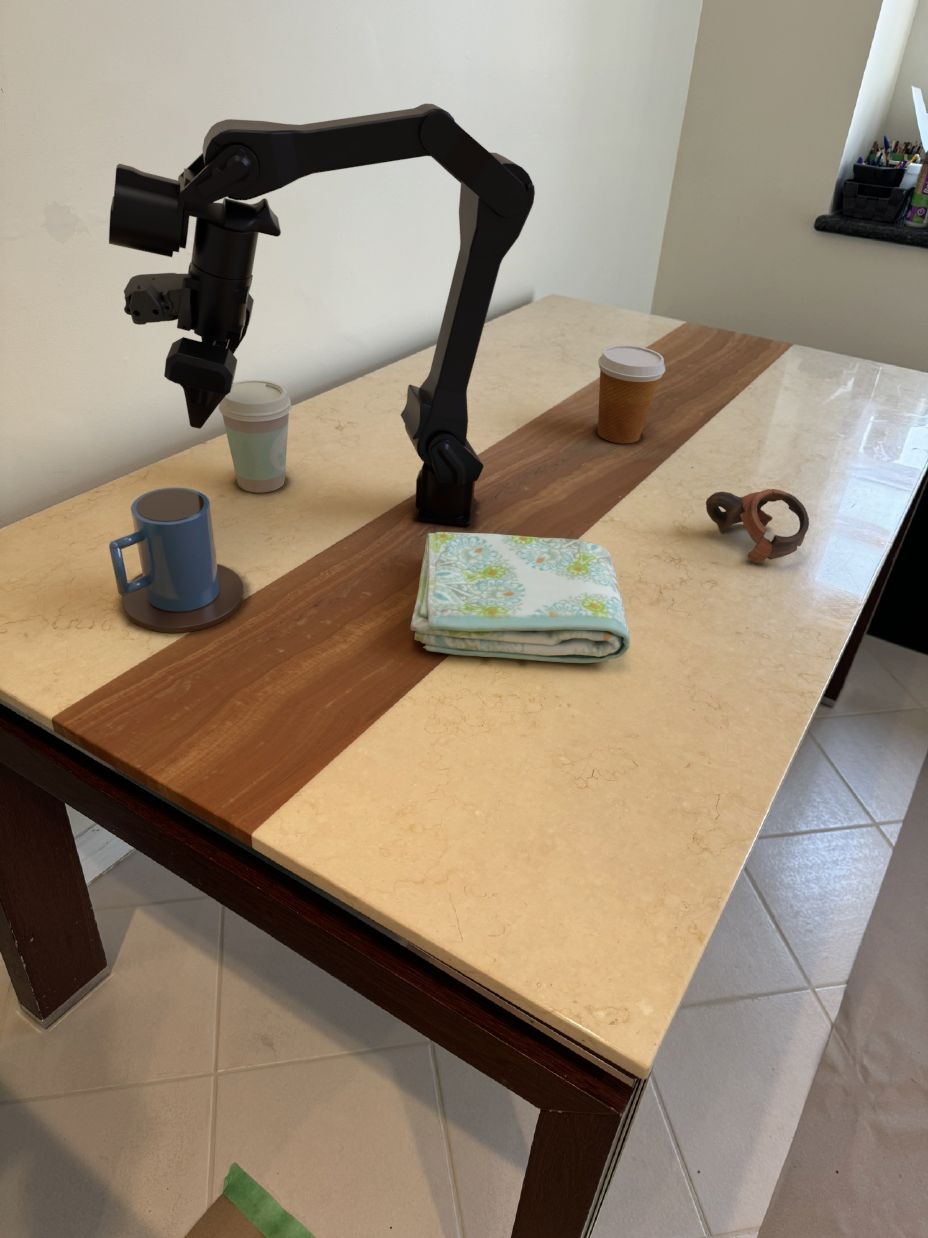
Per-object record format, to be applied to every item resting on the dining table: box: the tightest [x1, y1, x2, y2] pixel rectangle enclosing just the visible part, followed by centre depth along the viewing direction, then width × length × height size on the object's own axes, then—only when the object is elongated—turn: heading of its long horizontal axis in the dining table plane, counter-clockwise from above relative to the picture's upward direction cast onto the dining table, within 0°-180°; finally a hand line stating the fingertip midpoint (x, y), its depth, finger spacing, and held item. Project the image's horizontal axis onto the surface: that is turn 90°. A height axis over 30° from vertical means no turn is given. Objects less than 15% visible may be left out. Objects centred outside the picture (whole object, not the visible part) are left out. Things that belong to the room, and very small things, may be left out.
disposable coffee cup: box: [597, 344, 666, 444], centre depth 126 cm, size 10×10×12 cm
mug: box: [108, 487, 220, 612], centre depth 85 cm, size 10×7×10 cm
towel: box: [410, 531, 631, 664], centre depth 90 cm, size 18×21×5 cm
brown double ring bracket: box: [705, 488, 810, 565], centre depth 105 cm, size 12×10×8 cm
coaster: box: [121, 563, 245, 634], centre depth 89 cm, size 12×12×1 cm
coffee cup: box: [218, 379, 293, 494], centre depth 107 cm, size 9×8×12 cm
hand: (202, 404), depth 95 cm, fingers open, 9 cm apart
